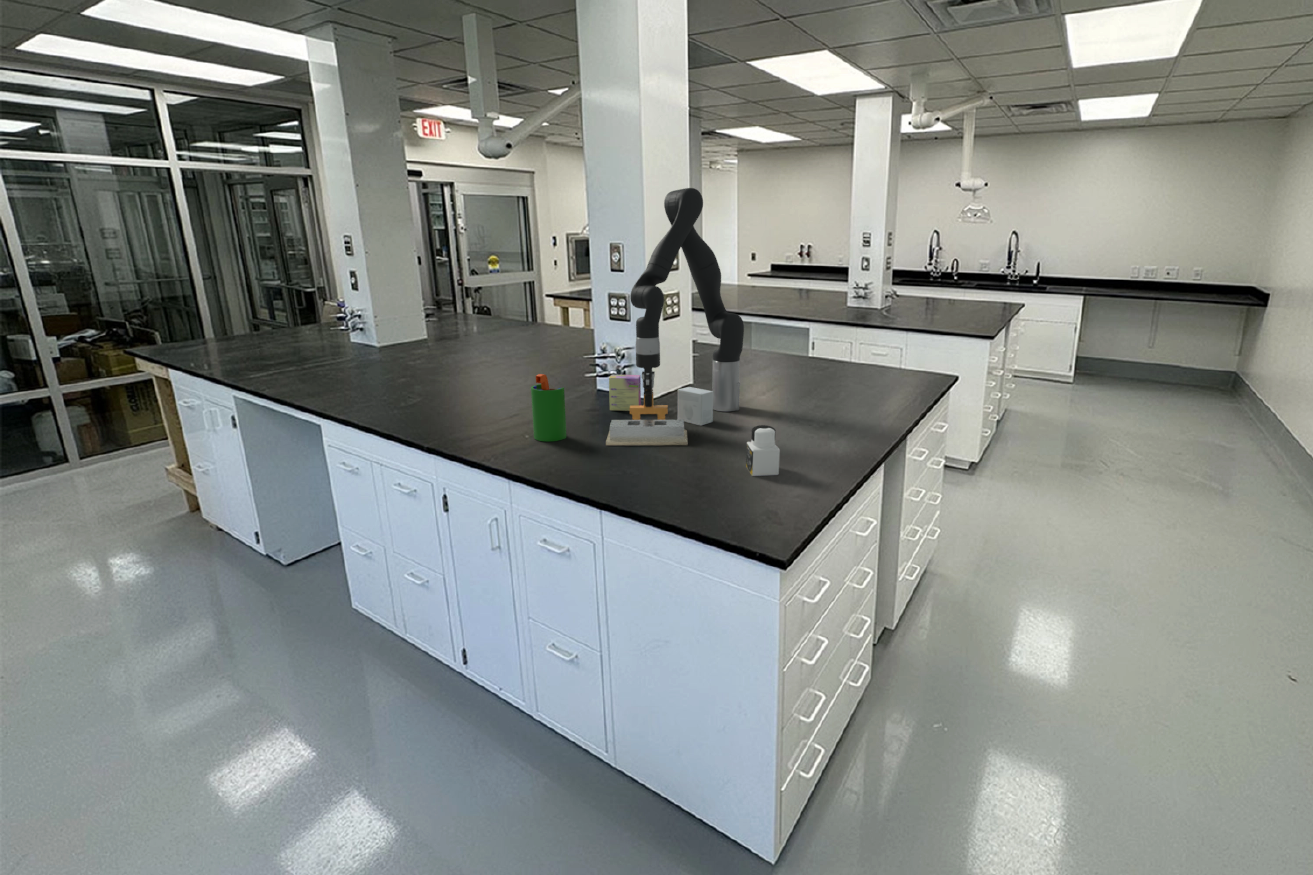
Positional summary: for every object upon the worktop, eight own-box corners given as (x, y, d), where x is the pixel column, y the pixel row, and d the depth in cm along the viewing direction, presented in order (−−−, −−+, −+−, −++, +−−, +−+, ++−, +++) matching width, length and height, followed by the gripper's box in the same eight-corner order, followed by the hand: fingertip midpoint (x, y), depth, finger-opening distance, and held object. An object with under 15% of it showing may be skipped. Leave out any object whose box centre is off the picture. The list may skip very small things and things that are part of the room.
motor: (571, 434, 202) (567, 371, 196) (557, 443, 194) (554, 377, 188) (542, 431, 205) (537, 369, 199) (527, 440, 197) (522, 375, 191)
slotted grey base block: (686, 432, 202) (686, 417, 201) (687, 445, 191) (687, 428, 189) (609, 433, 203) (609, 417, 202) (605, 445, 192) (605, 429, 190)
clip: (667, 424, 211) (667, 391, 207) (667, 427, 208) (667, 394, 204) (630, 424, 211) (629, 391, 208) (630, 427, 208) (629, 394, 205)
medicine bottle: (745, 466, 174) (747, 423, 170) (771, 465, 174) (773, 422, 171) (751, 476, 167) (753, 431, 163) (778, 475, 167) (781, 430, 164)
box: (641, 407, 232) (640, 374, 228) (639, 411, 226) (638, 378, 223) (612, 406, 233) (611, 374, 229) (609, 410, 227) (608, 377, 224)
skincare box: (713, 421, 214) (714, 390, 210) (701, 426, 209) (701, 394, 206) (689, 416, 220) (689, 385, 217) (676, 420, 216) (676, 389, 213)
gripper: (659, 355, 195) (660, 411, 201) (660, 347, 208) (660, 399, 214) (634, 355, 195) (635, 411, 201) (636, 347, 209) (638, 399, 214)
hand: (648, 405), depth 207 cm, fingers closed on clip, 2 cm apart
